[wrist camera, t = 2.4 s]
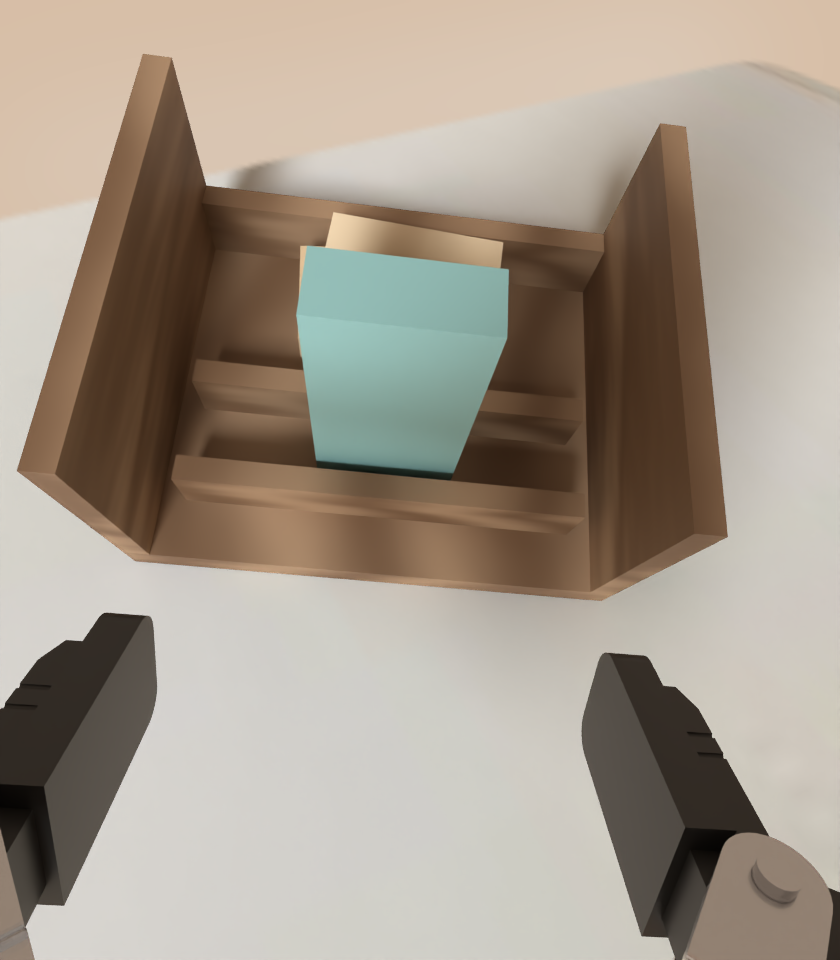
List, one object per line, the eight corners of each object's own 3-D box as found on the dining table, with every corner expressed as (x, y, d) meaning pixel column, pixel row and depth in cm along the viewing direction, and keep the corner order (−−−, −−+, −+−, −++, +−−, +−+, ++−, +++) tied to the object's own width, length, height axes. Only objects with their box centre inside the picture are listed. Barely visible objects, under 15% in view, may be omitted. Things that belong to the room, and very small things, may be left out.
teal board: (449, 443, 29) (509, 269, 18) (446, 490, 29) (507, 338, 17) (324, 431, 29) (307, 245, 18) (318, 478, 28) (296, 315, 17)
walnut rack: (591, 296, 35) (685, 127, 25) (601, 600, 29) (727, 536, 19) (204, 251, 33) (142, 53, 24) (135, 560, 28) (16, 470, 18)
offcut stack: (484, 294, 32) (503, 229, 28) (480, 392, 30) (500, 339, 26) (307, 274, 32) (300, 205, 28) (292, 373, 30) (282, 315, 26)
